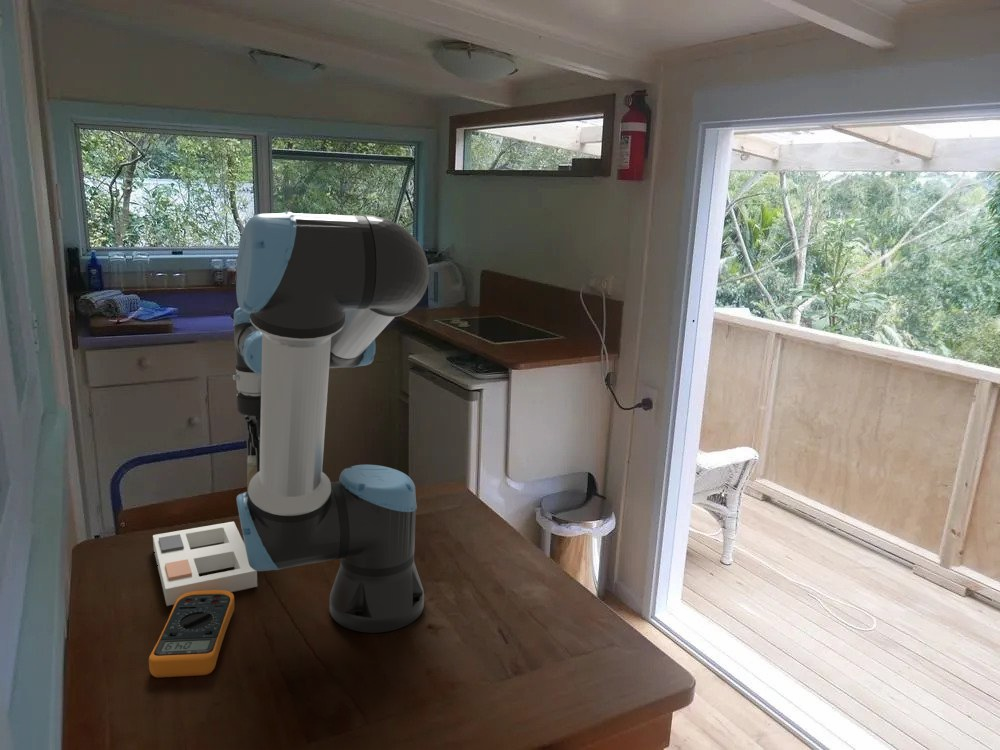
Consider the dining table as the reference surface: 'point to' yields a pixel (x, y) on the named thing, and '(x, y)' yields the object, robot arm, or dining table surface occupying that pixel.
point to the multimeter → (192, 634)
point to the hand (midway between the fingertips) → (262, 508)
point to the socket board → (202, 560)
